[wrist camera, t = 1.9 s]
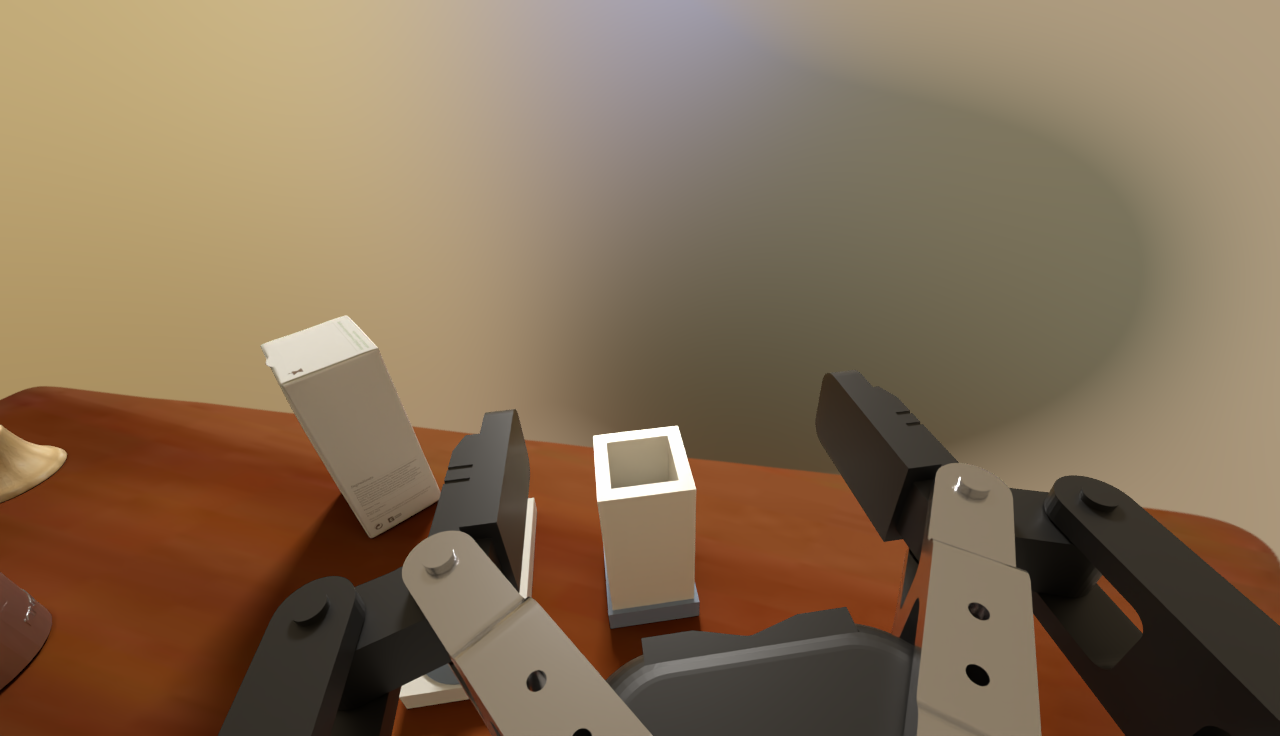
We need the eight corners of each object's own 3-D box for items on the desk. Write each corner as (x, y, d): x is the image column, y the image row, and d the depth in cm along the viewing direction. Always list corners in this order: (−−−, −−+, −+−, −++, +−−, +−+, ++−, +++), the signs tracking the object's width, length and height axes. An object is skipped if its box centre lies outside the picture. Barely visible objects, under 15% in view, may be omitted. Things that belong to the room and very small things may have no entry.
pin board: (525, 690, 30) (509, 647, 27) (407, 708, 30) (378, 667, 27) (537, 510, 42) (526, 467, 39) (452, 520, 41) (435, 478, 38)
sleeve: (699, 615, 33) (702, 492, 27) (610, 628, 33) (592, 506, 26) (682, 541, 38) (681, 422, 32) (604, 551, 38) (588, 433, 31)
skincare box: (444, 500, 43) (384, 348, 34) (365, 545, 40) (276, 387, 31) (409, 453, 48) (349, 310, 40) (337, 488, 45) (254, 340, 36)
